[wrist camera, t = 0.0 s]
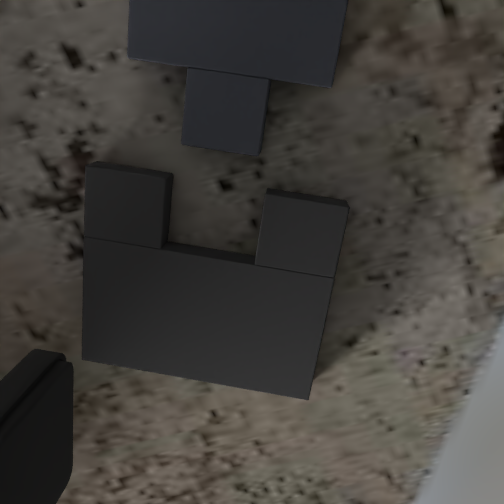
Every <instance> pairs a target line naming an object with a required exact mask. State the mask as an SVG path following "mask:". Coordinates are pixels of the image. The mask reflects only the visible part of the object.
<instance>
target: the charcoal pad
mask: <svg viewBox="0 0 504 504" xmlns="http://www.w3.org/2000/svg"><path fill="white" fill-rule="evenodd" d="M347 4H348V0H130V2H129V25H128V48H127V57H128V58H129V59H135V60H141V61H148V62H155V63H161V64H168V65H175V66H182V67H189V68H188V69H187V80H186V91H185V103H184V115H183V127H182V139H181V144H182V145H187V146H194V147H200V148H207V149H213V150H220V151H226V152H233V153H239V154H245V155H252V156H259V154H260V153H261V148H262V141H263V134H264V127H265V120H266V113H267V106H268V99H269V92H270V85H271V80H278V81H285V82H292V83H298V84H305V85H312V86H319V87H326V88H332V85H333V80H334V75H335V69H336V64H337V58H338V53H339V48H340V42H341V37H342V31H343V26H344V20H345V15H346V10H347ZM270 79H271V80H270Z"/></svg>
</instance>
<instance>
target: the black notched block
mask: <svg viewBox="0 0 504 504" xmlns="http://www.w3.org/2000/svg"><path fill="white" fill-rule="evenodd" d="M172 184H173V174H172V173H169V172H162V171H156V170H149V169H143V168H137V167H130V166H124V165H118V164H111V163H105V162H99V161H96V162H94V163H91V164H88V165H86V166H85V214H84V255H83V317H82V360H87V361H92V362H98V363H103V364H109V365H114V366H120V367H126V368H131V369H137V370H142V371H148V372H154V373H159V374H165V375H170V376H176V377H181V378H187V379H193V380H198V381H204V382H209V383H215V384H220V385H226V386H232V387H237V388H243V389H248V390H254V391H260V392H265V393H271V394H276V395H282V396H287V397H293V398H299V399H304V400H309V396H310V391H311V386H312V382H313V377H314V372H315V368H316V363H317V358H318V354H319V349H320V344H321V340H322V335H323V330H324V326H325V321H326V316H327V312H328V307H329V302H330V298H331V293H332V288H333V284H334V277H335V274H336V269H337V265H338V260H339V255H340V251H341V246H342V241H343V237H344V232H345V227H346V223H347V218H348V214H349V209H350V207H349V205H348V202H347V201H346V200H340V199H334V198H328V197H321V196H315V195H308V194H302V193H296V192H289V191H283V190H277V189H270V188H267V190H266V193H265V198H264V204H263V211H262V218H261V224H260V231H259V238H258V244H257V251H256V256H253V255H247V254H241V253H235V252H229V251H223V250H217V249H211V248H205V247H198V246H192V245H186V244H180V243H174V242H168V233H169V221H170V209H171V196H172Z"/></svg>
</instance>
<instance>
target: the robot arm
mask: <svg viewBox="0 0 504 504" xmlns="http://www.w3.org/2000/svg"><path fill="white" fill-rule="evenodd" d="M73 375H74V369H73V364H72V363H71V362H66V357H65V355H64V354H63V353H58V352H52V351H46V350H41V349H34V350H32V351H31V352H30V353H29V354H28V355H27V356H26V357H25V358H23V359H22V360H21V361H20V362H19V363H18V364H17V365H16V366H15V367H14V368H13V369H12V370H11V371H10V372H9V373H8V374H7V375H6V376H5V377H4V378H3V379H2V380H1V381H0V504H56V503H57V501H58V499H59V498H60V496H61V494H62V492H63V491H64V489H65V487H66V486H67V484H68V481H69V479H70V476H71V472H72V466H73Z"/></svg>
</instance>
